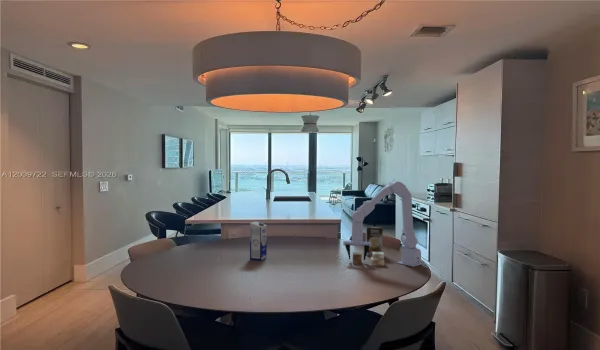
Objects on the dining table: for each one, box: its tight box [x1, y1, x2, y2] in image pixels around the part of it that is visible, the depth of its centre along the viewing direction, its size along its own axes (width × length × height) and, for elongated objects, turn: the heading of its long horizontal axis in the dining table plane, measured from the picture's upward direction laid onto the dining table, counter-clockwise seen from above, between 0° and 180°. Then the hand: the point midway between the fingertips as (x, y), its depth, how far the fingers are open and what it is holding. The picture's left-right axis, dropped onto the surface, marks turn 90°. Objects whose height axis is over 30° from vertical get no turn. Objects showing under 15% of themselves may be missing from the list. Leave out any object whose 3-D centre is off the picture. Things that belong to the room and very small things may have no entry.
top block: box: [371, 251, 385, 261], centre depth 190 cm, size 6×6×3 cm
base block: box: [370, 256, 385, 267], centre depth 190 cm, size 6×6×3 cm
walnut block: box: [352, 252, 363, 265], centre depth 192 cm, size 4×4×5 cm
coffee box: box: [365, 225, 384, 257], centre depth 210 cm, size 9×6×16 cm
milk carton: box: [249, 221, 268, 262], centre depth 198 cm, size 7×7×20 cm
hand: (356, 259), depth 192 cm, fingers open, 7 cm apart
